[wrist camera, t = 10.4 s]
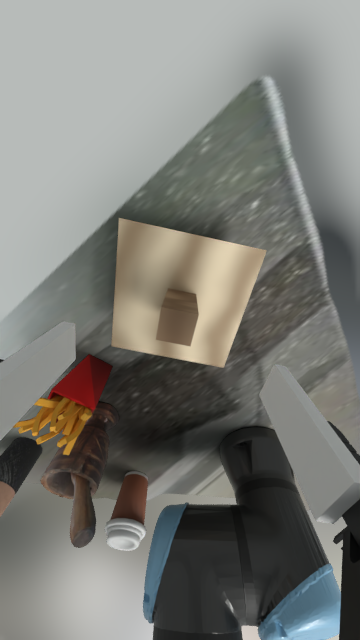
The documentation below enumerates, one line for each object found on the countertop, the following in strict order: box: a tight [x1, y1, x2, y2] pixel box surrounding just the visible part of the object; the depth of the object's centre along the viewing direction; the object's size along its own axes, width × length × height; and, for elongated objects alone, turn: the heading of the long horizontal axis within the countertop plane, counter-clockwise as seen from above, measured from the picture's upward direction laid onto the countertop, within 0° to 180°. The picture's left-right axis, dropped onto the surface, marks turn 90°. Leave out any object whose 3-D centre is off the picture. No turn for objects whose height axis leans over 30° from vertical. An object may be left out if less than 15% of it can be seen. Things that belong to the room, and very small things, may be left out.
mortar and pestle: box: [40, 402, 119, 548], centre depth 32 cm, size 12×9×20 cm
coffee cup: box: [105, 471, 148, 550], centre depth 46 cm, size 9×9×12 cm
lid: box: [111, 218, 266, 367], centre depth 20 cm, size 15×15×8 cm
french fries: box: [13, 354, 113, 455], centre depth 29 cm, size 9×8×15 cm
